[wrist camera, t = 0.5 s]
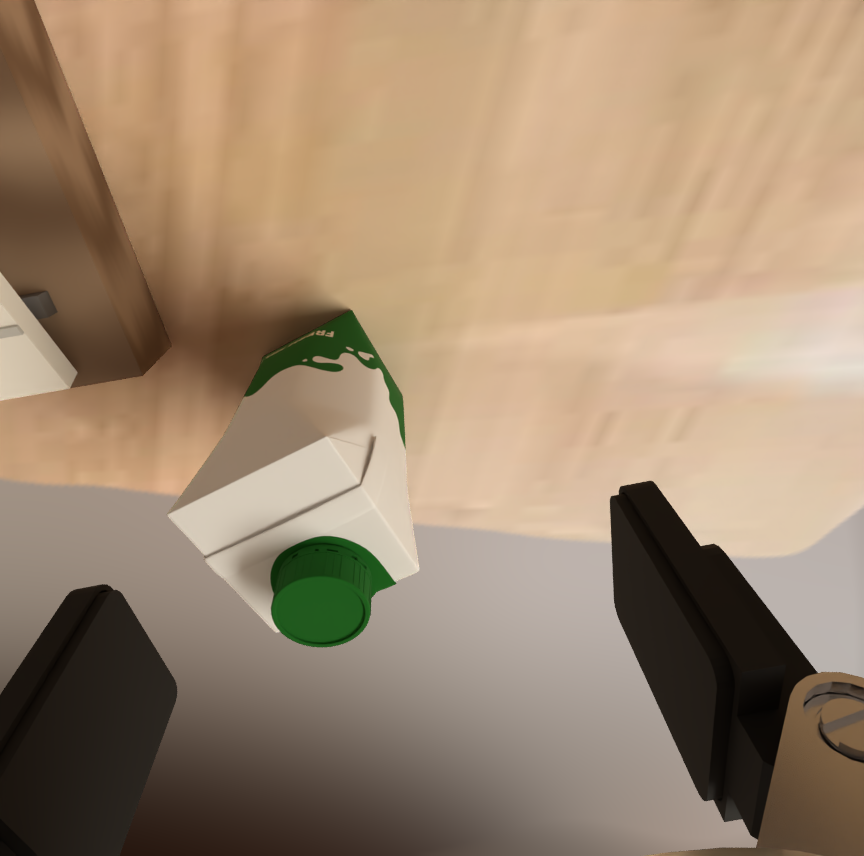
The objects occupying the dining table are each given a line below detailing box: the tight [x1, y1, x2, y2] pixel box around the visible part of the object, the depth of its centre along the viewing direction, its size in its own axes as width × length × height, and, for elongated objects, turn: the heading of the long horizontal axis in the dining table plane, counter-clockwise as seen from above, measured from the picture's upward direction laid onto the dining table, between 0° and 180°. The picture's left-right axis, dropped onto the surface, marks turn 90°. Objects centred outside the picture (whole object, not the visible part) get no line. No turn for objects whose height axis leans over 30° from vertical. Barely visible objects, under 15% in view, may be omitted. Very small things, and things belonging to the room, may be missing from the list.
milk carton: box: [167, 310, 419, 647], centre depth 31 cm, size 9×9×20 cm
